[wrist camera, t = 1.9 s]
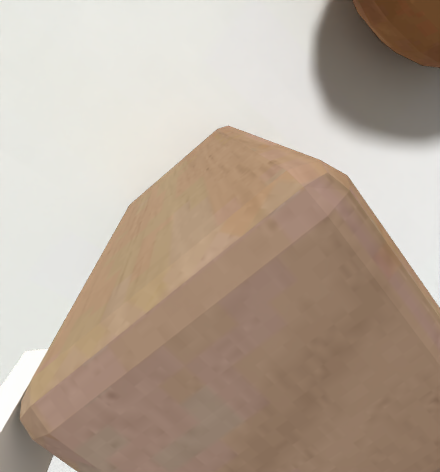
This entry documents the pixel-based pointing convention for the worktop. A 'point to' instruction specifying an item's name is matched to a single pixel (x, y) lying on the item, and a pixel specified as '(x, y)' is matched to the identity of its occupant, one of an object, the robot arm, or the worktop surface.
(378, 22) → the potato
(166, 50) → the worktop surface
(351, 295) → the wooden block
